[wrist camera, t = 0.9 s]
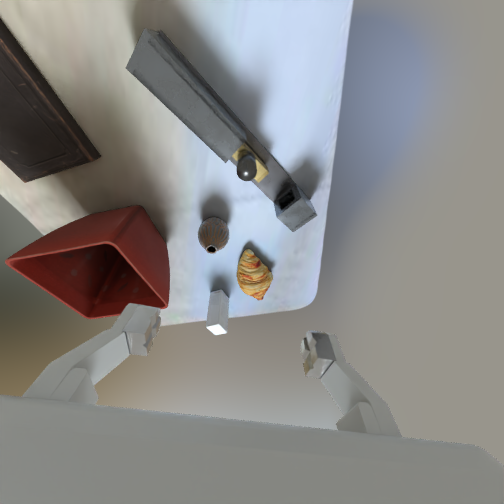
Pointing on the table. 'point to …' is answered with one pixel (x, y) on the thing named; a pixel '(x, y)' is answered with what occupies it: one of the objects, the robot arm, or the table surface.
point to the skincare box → (218, 312)
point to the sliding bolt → (249, 164)
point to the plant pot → (100, 263)
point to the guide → (212, 120)
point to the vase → (213, 234)
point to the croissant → (253, 275)
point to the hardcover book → (35, 119)
